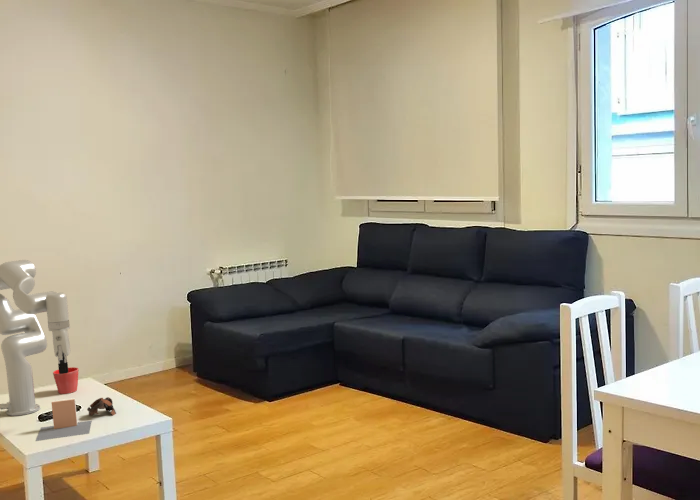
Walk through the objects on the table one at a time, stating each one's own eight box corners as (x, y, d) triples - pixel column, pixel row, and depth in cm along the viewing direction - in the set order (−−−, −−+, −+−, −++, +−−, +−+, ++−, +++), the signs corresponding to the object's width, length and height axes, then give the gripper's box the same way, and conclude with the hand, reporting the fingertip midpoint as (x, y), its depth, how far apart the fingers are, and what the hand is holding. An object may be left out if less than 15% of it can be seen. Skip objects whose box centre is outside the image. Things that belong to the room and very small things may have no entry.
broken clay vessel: (113, 420, 284) (100, 404, 282) (94, 431, 286) (80, 415, 284) (123, 403, 295) (111, 388, 293) (105, 413, 297) (92, 398, 295)
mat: (35, 442, 262) (35, 440, 262) (41, 429, 277) (40, 427, 277) (89, 435, 266) (89, 433, 266) (91, 422, 282) (91, 420, 282)
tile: (54, 428, 274) (51, 402, 273) (54, 426, 276) (52, 400, 276) (76, 425, 276) (74, 399, 275) (77, 423, 279) (75, 397, 278)
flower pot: (49, 395, 325) (47, 373, 324) (63, 388, 335) (61, 367, 334) (72, 395, 323) (70, 373, 322) (85, 388, 334) (83, 366, 333)
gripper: (67, 327, 275) (72, 376, 276) (71, 321, 289) (75, 367, 290) (46, 329, 273) (51, 378, 274) (50, 323, 287) (55, 370, 288)
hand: (63, 373), depth 282 cm, fingers closed
